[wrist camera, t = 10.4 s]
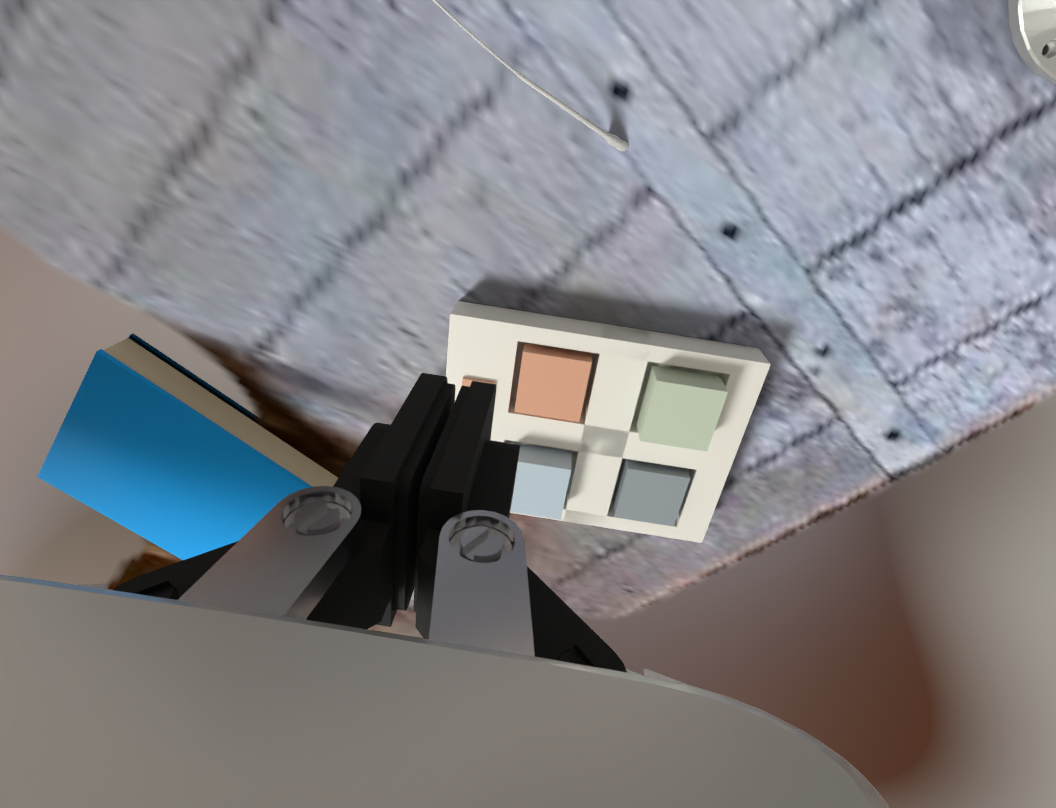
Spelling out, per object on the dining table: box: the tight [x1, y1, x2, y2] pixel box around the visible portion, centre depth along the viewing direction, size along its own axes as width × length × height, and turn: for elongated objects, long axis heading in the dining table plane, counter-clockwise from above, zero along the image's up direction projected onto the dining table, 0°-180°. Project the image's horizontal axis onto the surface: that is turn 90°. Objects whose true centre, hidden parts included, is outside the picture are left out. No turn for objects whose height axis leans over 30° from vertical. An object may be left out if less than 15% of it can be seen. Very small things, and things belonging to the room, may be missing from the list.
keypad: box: [446, 301, 771, 543], centre depth 44 cm, size 23×17×3 cm
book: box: [38, 334, 338, 560], centre depth 50 cm, size 17×4×25 cm
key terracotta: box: [514, 342, 592, 422], centre depth 41 cm, size 5×5×2 cm
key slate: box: [613, 458, 690, 527], centre depth 45 cm, size 5×5×2 cm
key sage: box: [637, 366, 728, 452], centre depth 40 cm, size 5×5×2 cm
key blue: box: [510, 442, 572, 520], centre depth 44 cm, size 5×5×2 cm
